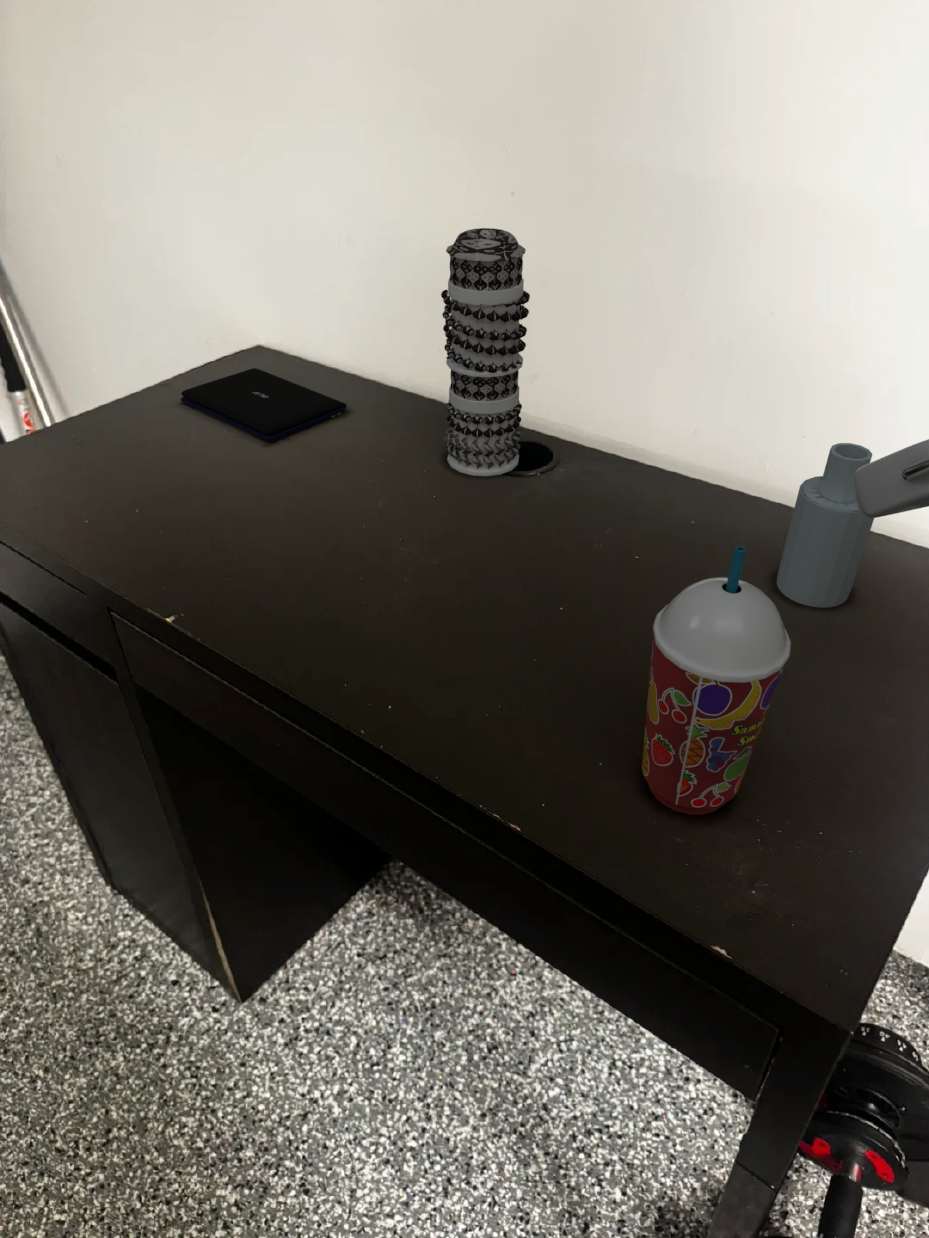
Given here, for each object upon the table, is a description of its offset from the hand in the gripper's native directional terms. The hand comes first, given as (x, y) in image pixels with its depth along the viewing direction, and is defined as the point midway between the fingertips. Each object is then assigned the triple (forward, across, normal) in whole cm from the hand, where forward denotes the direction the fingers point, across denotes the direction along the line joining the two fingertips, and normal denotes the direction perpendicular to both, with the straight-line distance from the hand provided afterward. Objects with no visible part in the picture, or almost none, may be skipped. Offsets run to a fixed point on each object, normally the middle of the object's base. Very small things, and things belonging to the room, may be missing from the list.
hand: (913, 494), depth 70 cm
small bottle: (+15, 0, -5) cm, 16 cm away
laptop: (+58, -40, +37) cm, 79 cm away
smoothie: (+3, -24, -17) cm, 30 cm away
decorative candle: (+41, -19, +20) cm, 49 cm away
